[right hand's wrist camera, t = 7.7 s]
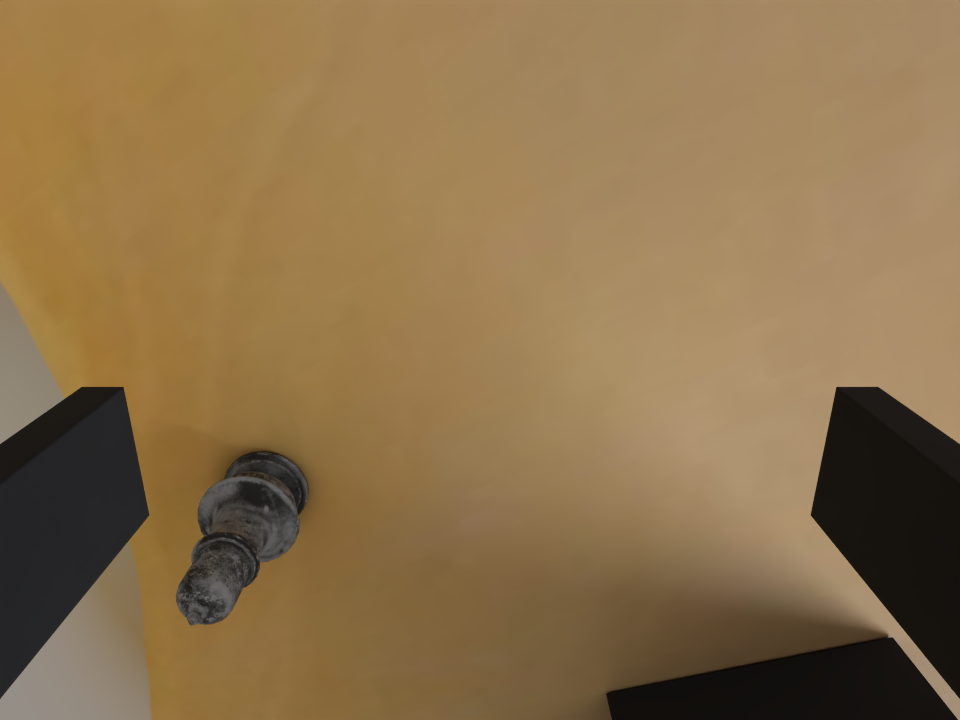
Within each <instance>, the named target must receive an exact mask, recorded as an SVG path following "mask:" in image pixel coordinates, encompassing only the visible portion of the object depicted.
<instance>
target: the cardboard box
mask: <svg viewBox="0 0 960 720" xmlns="http://www.w3.org/2000/svg"><path fill="white" fill-rule="evenodd" d="M606 695H607V699H608V704H609V708H610V713H611V717H612V720H958V719H957V718H956V717H955V715H954V714H953V713H952V712H951V710H950V709H949V708H948V707H947V705H946V704H945V703H944V702H943V700H942V699H941V698H940V697H939V695H938V694H937V693H936V691H935V690H934V689H933V688H932V686H931V685H930V684H929V683H928V681H927V680H926V679H925V678H924V676H923V675H922V674H921V673H920V671H919V670H918V669H917V668H916V666H915V665H914V664H913V662H912V661H911V660H910V659H909V657H908V656H907V655H906V654H905V652H904V651H903V650H902V649H901V647H900V646H899V645H898V644H897V642H896V641H895V640H894V639H893V638H888V639H883V640H877V641H872V642H867V643H862V644H857V645H852V646H847V647H842V648H837V649H832V650H827V651H822V652H817V653H812V654H806V655H801V656H796V657H791V658H786V659H781V660H776V661H771V662H766V663H761V664H756V665H751V666H746V667H741V668H736V669H730V670H725V671H720V672H715V673H710V674H705V675H700V676H695V677H690V678H685V679H680V680H675V681H670V682H665V683H659V684H654V685H649V686H644V687H639V688H634V689H629V690H624V691H619V692H614V693H609V694H606Z"/></svg>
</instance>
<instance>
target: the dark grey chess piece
mask: <svg viewBox="0 0 960 720" xmlns="http://www.w3.org/2000/svg"><path fill="white" fill-rule="evenodd" d="M307 499H308V486H307V482H306V479H305V477H304V475H303V474H302V472H301V470H300V469H299V468H298V467H297V466H296V465H295V464H294V463H293V462H291V461H290V460H288V459H286V458H285V457H283V456H280V455H277V454H274V453H269V452H255V453H250V454H247V455H244V456H242V457H240V458H239V459H237V460H236V461H235V462H233V464H232V465H231V466H230V468H229V469H228V470H227V472H226V475H225V478H224V480H221V481H219V482H217V483H216V484H214V485H213V486H212V487H210V488H209V489H208V490H207V492H206V493H205V495H204V496H203V497H202V499H201V501H200V504H199V508H198V523H199V526H200V529H201V532H202V534H203V535H204V537H203V538H202V539H200V540H199V541H198V542H197V544H196V545H195V547H194V548H193V552H192V565H191V567H190V568H189V570H188V572H187V573H186V575H185V576H184V578H183V579H182V581H181V583H180V584H179V587H178V590H177V593H176V602H177V605H178V608H179V610H180V611H181V613H182V614H183V615H184V616H185V617H186V618H187V620H188V622H189V624H190V625H195V624H204V625H207V624H213V623H217V622H219V621H221V620H223V619H224V618H226V617H227V616H228V614H229V613H230V612H231V611H232V609H233V607H234V605H235V603H236V601H237V599H238V597H239V595H240V593H241V591H242V589H243V588H244V587H246V586H248V585H249V584H251V583H252V582H253V581H254V579H255V578H256V577H257V575H258V572H259V569H260V562H267V561H270V560H273V559H276V558H278V557H280V556H281V555H283V554H284V553H285V552H287V551H288V550H289V549H290V547H291V546H292V545H293V544H294V542H295V540H296V538H297V535H298V532H299V521H300V520H299V516H298V515H299V514H300V513H301V511H302V510H303V509H304V507H305V504H306V502H307Z"/></svg>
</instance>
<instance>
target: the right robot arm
mask: <svg viewBox="0 0 960 720" xmlns="http://www.w3.org/2000/svg"><path fill="white" fill-rule="evenodd" d="M148 516H149V511H148V506H147V501H146V496H145V491H144V486H143V482H142V477H141V472H140V467H139V462H138V457H137V452H136V447H135V442H134V437H133V432H132V427H131V422H130V417H129V412H128V407H127V402H126V397H125V392H124V387H81V388H80V389H78V390H77V391H75V392H74V393H73V394H71V395H70V396H68V397H67V398H65V399H64V400H63V401H61V402H60V403H58V404H57V405H55V406H54V407H53V408H51V409H50V410H48V411H47V412H46V413H44V414H43V415H41V416H40V417H38V418H37V419H36V420H34V421H33V422H31V423H30V424H28V425H27V426H26V427H24V428H23V429H21V430H20V431H18V432H17V433H16V434H14V435H13V436H11V437H10V438H8V439H7V440H6V441H4V442H3V443H1V444H0V698H1V697H2V696H3V695H4V693H5V692H6V691H7V690H8V689H9V687H10V686H11V685H12V683H13V682H14V681H15V680H16V679H17V677H18V676H19V675H20V674H21V673H22V671H23V670H24V669H25V668H26V666H27V665H28V664H29V663H30V661H31V660H32V659H33V658H34V656H35V655H36V654H37V653H38V652H39V650H40V649H41V648H42V647H43V645H44V644H45V643H46V642H47V640H48V639H49V638H50V637H51V636H52V634H53V633H54V632H55V631H56V629H57V628H58V627H59V626H60V624H61V623H62V622H63V621H64V619H65V618H66V617H67V616H68V615H69V613H70V612H71V611H72V610H73V608H74V607H75V606H76V605H77V604H78V602H79V601H80V600H81V599H82V597H83V596H84V595H85V594H86V592H87V591H88V590H89V589H90V588H91V586H92V585H93V584H94V583H95V581H96V580H97V579H98V578H99V576H100V575H101V574H102V573H103V572H104V570H105V569H106V568H107V567H108V565H109V564H110V563H111V562H112V560H113V559H114V558H115V557H116V555H117V554H118V553H119V552H120V551H121V549H122V548H123V547H124V546H125V544H126V543H127V542H128V541H129V540H130V538H131V537H132V536H133V535H134V533H135V532H136V531H137V530H138V528H139V527H140V526H141V525H142V524H143V522H144V521H145V520H146V519H147V517H148ZM811 516H812V517H813V519H814V520H815V521H816V522H817V524H818V525H819V526H820V527H821V528H822V530H823V531H824V532H825V533H826V535H827V536H828V537H829V538H830V540H831V541H832V542H833V543H834V544H835V546H836V547H837V548H838V549H839V551H840V552H841V553H842V554H843V556H844V557H845V558H846V559H847V560H848V562H849V563H850V564H851V565H852V567H853V568H854V569H855V570H856V572H857V573H858V574H859V575H860V576H861V578H862V579H863V580H864V581H865V583H866V584H867V585H868V586H869V588H870V589H871V590H872V591H873V592H874V594H875V595H876V596H877V597H878V599H879V600H880V601H881V602H882V604H883V605H884V606H885V607H886V608H887V610H888V611H889V612H890V613H891V615H892V616H893V617H894V618H895V620H896V621H897V622H898V623H899V625H900V626H901V627H902V628H903V629H904V631H905V632H906V633H907V634H908V636H909V637H910V638H911V639H912V641H913V642H914V643H915V644H916V645H917V647H918V648H919V649H920V650H921V652H922V653H923V654H924V655H925V657H926V658H927V659H928V660H929V661H930V663H931V664H932V665H933V666H934V668H935V669H936V670H937V671H938V673H939V674H940V675H941V676H942V677H943V679H944V680H945V681H946V682H947V684H948V685H949V686H950V687H951V689H952V690H953V691H954V692H955V693H956V695H957V696H958V697H959V698H960V444H959V443H957V442H956V441H954V440H953V439H952V438H950V437H949V436H947V435H946V434H944V433H943V432H942V431H940V430H939V429H937V428H936V427H934V426H933V425H932V424H930V423H929V422H927V421H926V420H924V419H923V418H922V417H920V416H919V415H917V414H916V413H914V412H913V411H912V410H910V409H909V408H907V407H906V406H904V405H903V404H902V403H900V402H899V401H897V400H896V399H895V398H893V397H892V396H890V395H889V394H887V393H886V392H885V391H883V390H882V389H880V388H879V387H836V392H835V397H834V402H833V407H832V412H831V417H830V422H829V427H828V432H827V437H826V442H825V447H824V452H823V457H822V462H821V467H820V472H819V477H818V482H817V486H816V491H815V496H814V501H813V506H812V511H811Z"/></svg>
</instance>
